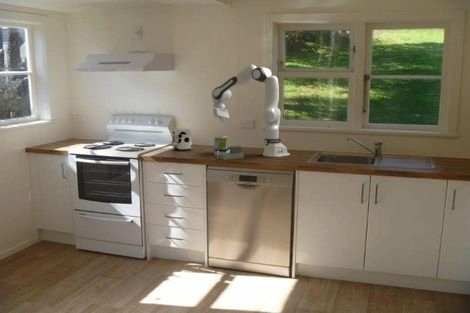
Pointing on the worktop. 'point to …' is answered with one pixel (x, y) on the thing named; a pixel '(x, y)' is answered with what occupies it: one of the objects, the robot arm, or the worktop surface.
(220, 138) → the tea box
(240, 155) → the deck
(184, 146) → the milk container
